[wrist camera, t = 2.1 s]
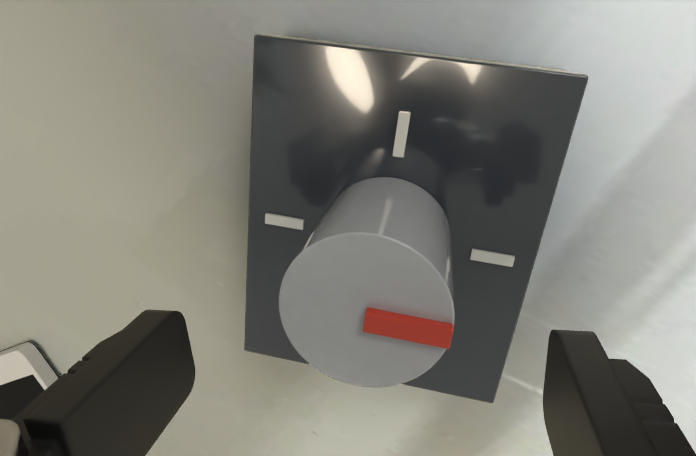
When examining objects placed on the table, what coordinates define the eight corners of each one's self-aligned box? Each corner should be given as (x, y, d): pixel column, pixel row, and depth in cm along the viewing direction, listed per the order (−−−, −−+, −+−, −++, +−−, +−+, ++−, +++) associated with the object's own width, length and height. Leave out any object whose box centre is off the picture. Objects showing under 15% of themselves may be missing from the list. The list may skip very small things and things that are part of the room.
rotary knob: (318, 282, 17) (270, 376, 13) (329, 166, 16) (278, 222, 11) (438, 305, 17) (436, 412, 12) (463, 187, 15) (472, 257, 10)
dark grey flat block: (282, 35, 17) (251, 33, 14) (564, 70, 16) (591, 75, 13) (268, 312, 22) (241, 353, 19) (486, 356, 21) (493, 407, 18)
